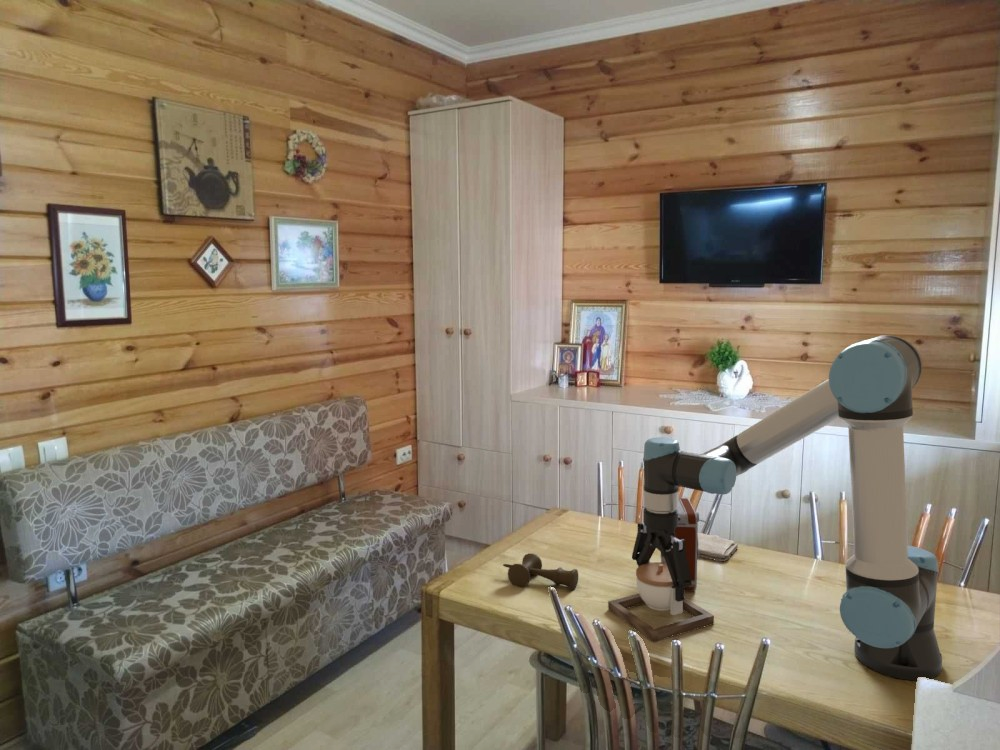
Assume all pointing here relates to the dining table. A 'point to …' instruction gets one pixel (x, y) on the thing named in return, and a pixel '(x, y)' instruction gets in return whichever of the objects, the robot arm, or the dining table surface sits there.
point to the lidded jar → (655, 585)
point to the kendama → (539, 573)
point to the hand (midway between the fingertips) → (660, 602)
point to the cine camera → (688, 537)
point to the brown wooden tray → (662, 632)
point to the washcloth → (715, 547)
